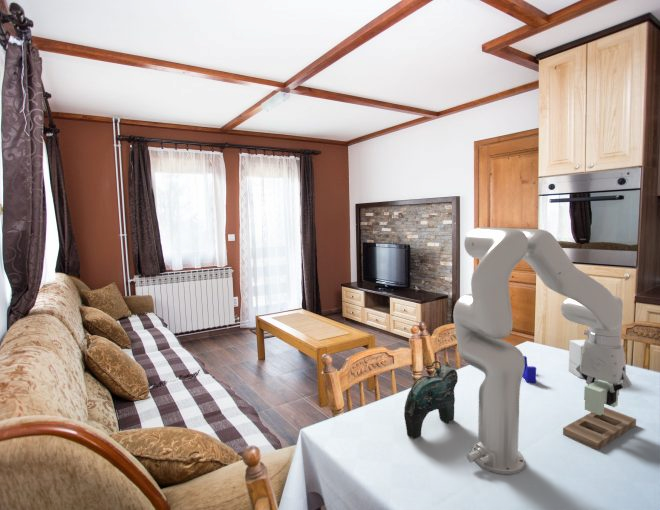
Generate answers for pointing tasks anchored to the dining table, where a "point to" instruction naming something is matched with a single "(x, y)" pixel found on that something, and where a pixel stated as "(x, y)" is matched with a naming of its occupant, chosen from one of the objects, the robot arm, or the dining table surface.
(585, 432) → the brown wooden board
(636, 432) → the dining table surface
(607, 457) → the dining table surface
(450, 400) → the green ceramic figurine
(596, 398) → the tall sage green block
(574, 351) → the supplement box
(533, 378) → the cable clip
